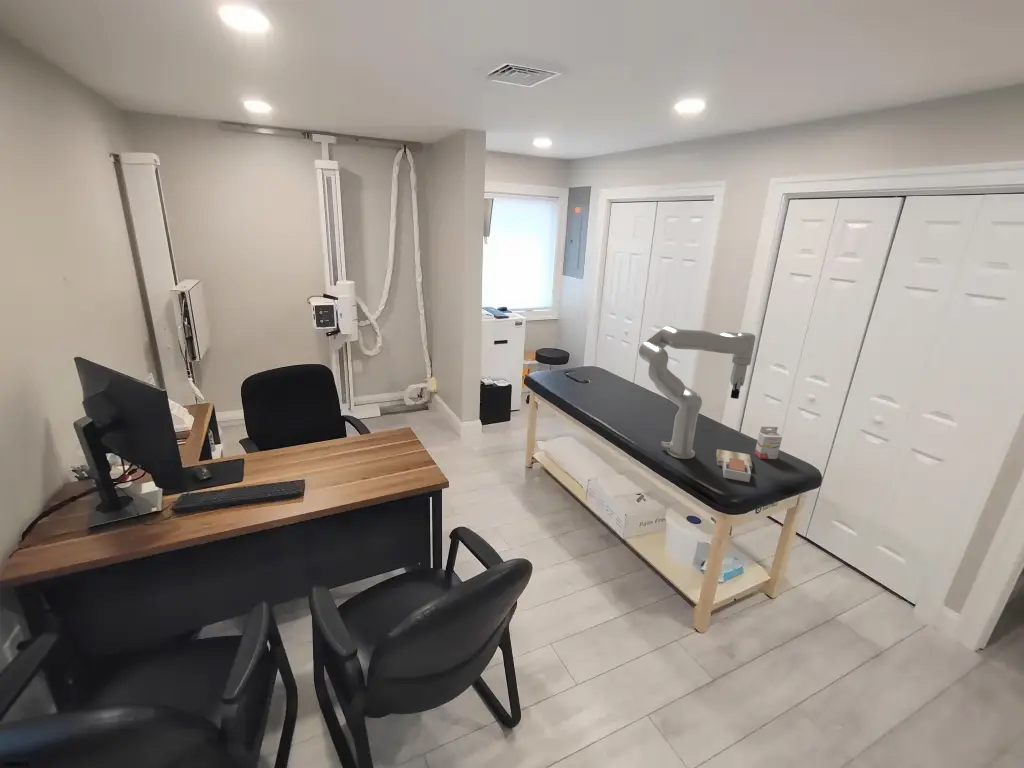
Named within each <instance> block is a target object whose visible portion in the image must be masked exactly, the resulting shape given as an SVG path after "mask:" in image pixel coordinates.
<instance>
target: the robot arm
mask: <svg viewBox="0 0 1024 768" xmlns="http://www.w3.org/2000/svg"><path fill="white" fill-rule="evenodd" d="M755 344H756V335H755V334H754V333H751V332H730V331H724V332H721V333H719V334H716V333H713V332H711V331H707V330H699V329H698V330H697V329H694V330H692V329H680V328H677V327H675V326H671V325H667V326H665V327H663V328H661V329H659V330H658V331H657V332H656V333H654V334H653V335H652V336H650V337H649V338H648V339H647V340H645V341H644V342H642V344H640V346H639V349H638V355H639V357H640V358H641V359H642V360H643V361H644V362H647V363H649V366H648V372H647V374H648V377H649V379H650V381H651V382H652V383H654V384H653V385H654V386H655V389H657V390H658V391H659V392H660V393H661V394H663V395H664V397H666V398H667V399H669V401H671V402H672V403H674V404H675V405H676V406H677V407H679V408H678V411H677V412H676V414H675V417H674V423H673V430H672V436H671V440H670V441H668V442H666V441H663V440H662V441H661V442H660V446H663V448H666V452H667V454H669V455H670V456H671V457H674V458H676V459H682V460H689V459H693V458H694V457H695V455H696V452H695V450H693V446H694V439H695V433H696V426H697V420H698V417H699V414H700V411H701V408H702V405H703V400H702V397H701V396H700V394H698V393H697V391H695V390H693V389H691V388H690V387H688V386H686V385H685V384H684V382H683V381H682V380H681V378H679V377H678V376H676V375H675V374H674V373H672V372H671V371H670V370H669V368H668V363H669V354H668V352H667V350H666V349H665V348H666V347H667V346H668V347H670V348H672V349H675V350H691V351H692V350H694V351H704V352H710V353H711V352H712V353H719V354H726V355H727V354H731V355H732V361H731V363H732V364H733V366H732V370H731V374H730V378H729V379H730V380H729V382H730V384H731V386H732V388H731V393H730V399H736V400H738V399H739V398H740V393H741V387H743V386H744V385H745V380H746V374H747V369H748V366H750V365H751V363H752V358H753V353H754V348H755Z"/></svg>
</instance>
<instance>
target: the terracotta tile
mask: <svg viewBox="0 0 1024 768" xmlns="http://www.w3.org/2000/svg"><path fill="white" fill-rule="evenodd" d="M729 470H734V471H740V472H745V462H744V460H739V459H733V458H729Z"/></svg>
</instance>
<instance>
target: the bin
mask: <svg viewBox="0 0 1024 768" xmlns="http://www.w3.org/2000/svg"><path fill="white" fill-rule="evenodd" d="M721 467H722V468H721V469H722V474H723V478H724V479H731V480H734V481H735V480H736V481H739V482H740V481H741V482H747V483H750V481H751V476H752V471H750V468H749V464H747V467H746V466H745V472H740V471H734V470H729V464H728V463H725V460H724V461H723V466H721Z"/></svg>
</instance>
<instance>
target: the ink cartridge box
mask: <svg viewBox="0 0 1024 768" xmlns="http://www.w3.org/2000/svg"><path fill="white" fill-rule="evenodd" d="M778 429H779V426H761V427H760V430H759V433H758V438H757V441H756V444H755V450H754V453H753V454H754V455H755V456H756V457H757V458H759V459H760V460H777V459H778V456H779V451H780V448H781V444H782V440H783V436H782V435H781V434H780V433H778Z"/></svg>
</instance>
